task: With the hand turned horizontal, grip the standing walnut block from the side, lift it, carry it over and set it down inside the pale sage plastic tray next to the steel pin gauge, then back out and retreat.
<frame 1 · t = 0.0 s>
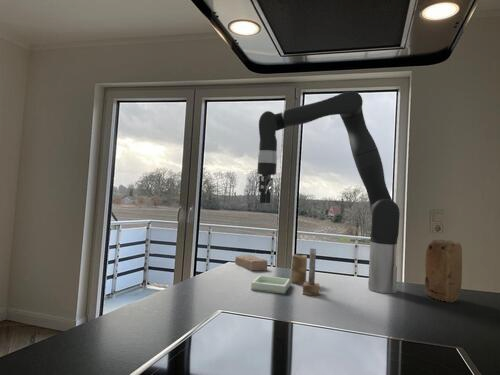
hand: (265, 203, 143), 29 cm above the worktop, fingers open, 8 cm apart
brick: (250, 268, 160), on the worktop
tray: (271, 287, 126), on the worktop
block: (440, 299, 123), on the worktop
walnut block: (298, 282, 136), on the worktop
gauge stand: (310, 293, 121), on the worktop
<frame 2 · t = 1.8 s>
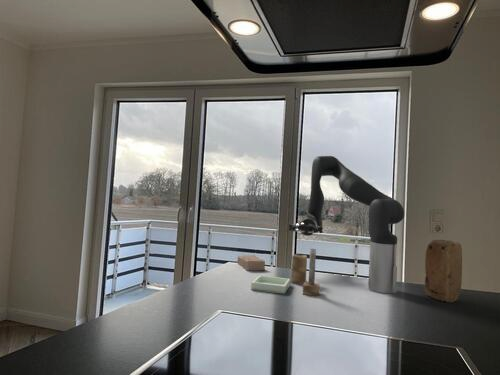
hand: (304, 229, 148), 19 cm above the worktop, fingers open, 8 cm apart
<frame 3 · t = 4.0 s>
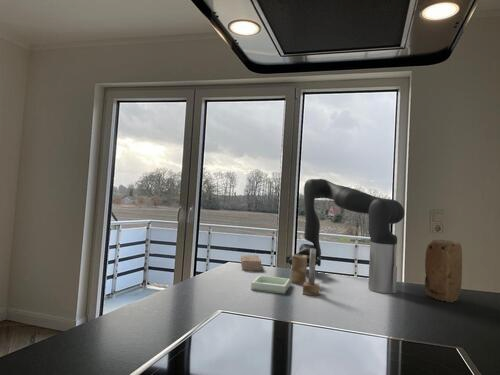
hand: (301, 263, 143), 6 cm above the worktop, fingers open, 8 cm apart
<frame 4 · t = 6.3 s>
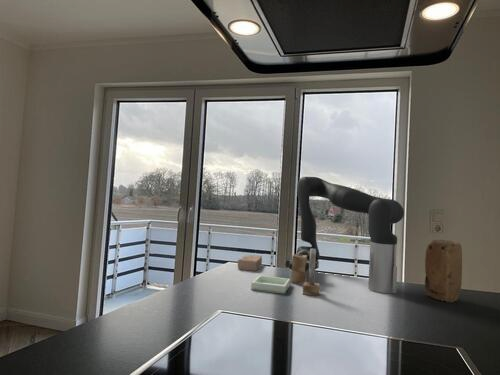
hand: (298, 267, 134), 6 cm above the worktop, fingers closed on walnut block, 5 cm apart
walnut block: (298, 281, 136), on the worktop, touching gripper
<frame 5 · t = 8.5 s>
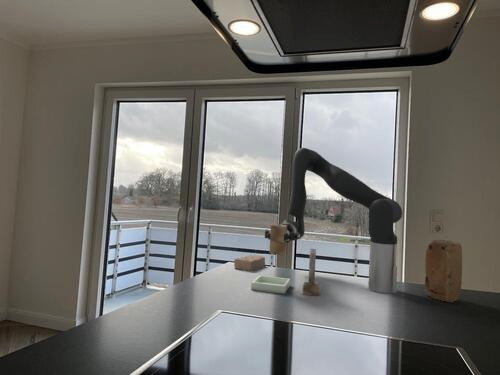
hand: (277, 237, 126), 18 cm above the worktop, fingers closed on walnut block, 5 cm apart
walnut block: (277, 253, 129), point 12 cm above the worktop, touching gripper
when the fingers open (7 cm above the worktop, at t = 11.2 s): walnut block stays where it is, resting on tray.
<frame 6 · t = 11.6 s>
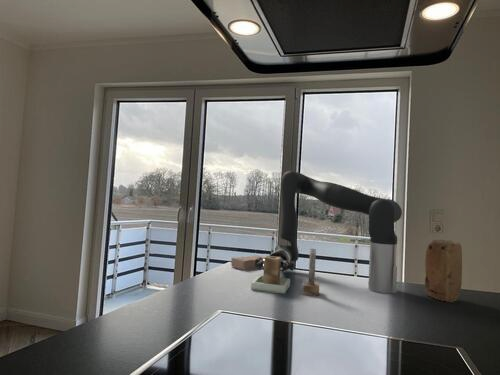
hand: (271, 267, 124), 7 cm above the worktop, fingers open, 8 cm apart
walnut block: (271, 285, 126), point 1 cm above the worktop, touching tray
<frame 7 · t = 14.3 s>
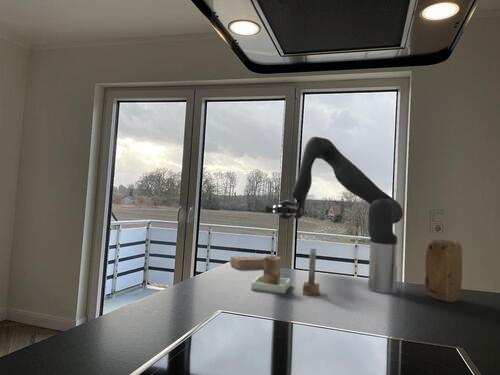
hand: (280, 210, 137), 27 cm above the worktop, fingers open, 8 cm apart
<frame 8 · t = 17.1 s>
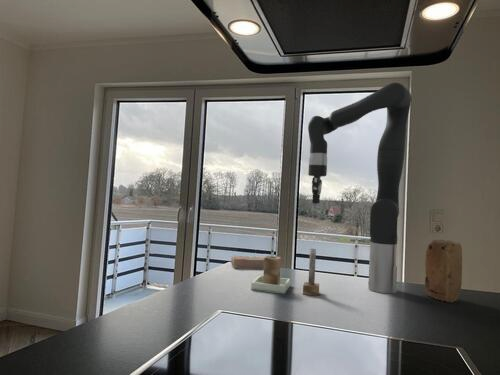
hand: (316, 203, 149), 30 cm above the worktop, fingers open, 8 cm apart
at the end: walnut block inside the target area (0.1 cm from its centre), point 0.6 cm above the worktop; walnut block tilted 0°; the gripper is holding nothing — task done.
